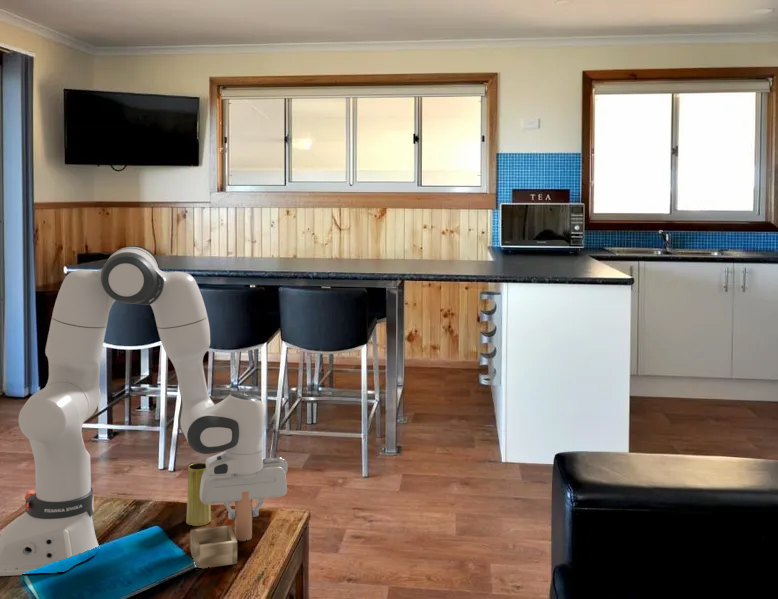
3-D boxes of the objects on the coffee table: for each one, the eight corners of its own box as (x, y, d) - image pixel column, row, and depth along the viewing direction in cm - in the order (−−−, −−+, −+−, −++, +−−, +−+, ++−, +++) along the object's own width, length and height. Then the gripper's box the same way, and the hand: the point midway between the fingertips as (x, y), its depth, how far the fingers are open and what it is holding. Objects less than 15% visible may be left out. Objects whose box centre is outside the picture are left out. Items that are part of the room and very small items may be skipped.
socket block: (194, 569, 155) (195, 547, 154) (190, 550, 163) (190, 529, 162) (237, 563, 158) (237, 542, 157) (230, 545, 166) (230, 525, 166)
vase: (204, 527, 175) (205, 471, 173) (181, 524, 176) (181, 468, 175) (215, 517, 181) (216, 463, 179) (192, 514, 182) (193, 460, 181)
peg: (236, 542, 168) (236, 492, 167) (233, 534, 172) (234, 486, 171) (253, 539, 170) (253, 491, 168) (250, 532, 173) (250, 485, 172)
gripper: (284, 452, 175) (283, 506, 177) (198, 459, 168) (198, 516, 169) (290, 461, 169) (289, 517, 171) (202, 469, 162) (201, 527, 164)
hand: (243, 516), depth 170 cm, fingers closed on peg, 4 cm apart
